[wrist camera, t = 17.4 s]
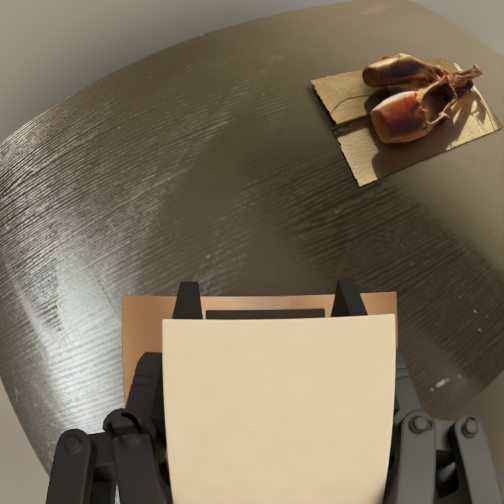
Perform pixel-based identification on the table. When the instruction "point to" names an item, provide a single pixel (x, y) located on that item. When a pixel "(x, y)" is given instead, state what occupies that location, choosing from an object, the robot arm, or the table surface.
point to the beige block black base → (278, 406)
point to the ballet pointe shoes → (403, 112)
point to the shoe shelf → (161, 307)
